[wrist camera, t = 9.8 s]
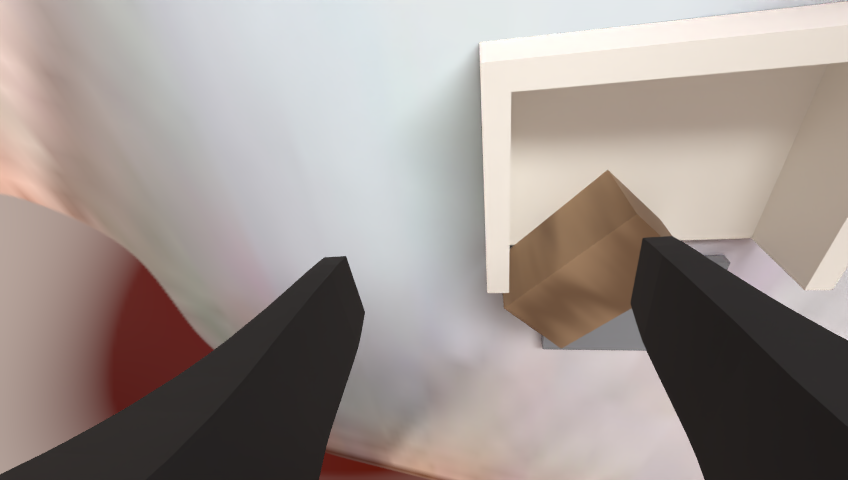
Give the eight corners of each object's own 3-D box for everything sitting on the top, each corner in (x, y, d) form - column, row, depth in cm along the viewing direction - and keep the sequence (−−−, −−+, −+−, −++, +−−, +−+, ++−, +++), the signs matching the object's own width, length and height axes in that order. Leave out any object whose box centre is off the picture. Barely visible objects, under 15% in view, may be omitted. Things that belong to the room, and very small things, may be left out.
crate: (873, -2, 14) (1013, 7, 10) (766, 230, 19) (832, 289, 16) (479, 42, 16) (479, 62, 12) (485, 239, 22) (487, 293, 18)
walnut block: (697, 270, 16) (561, 348, 19) (659, 218, 19) (549, 294, 23) (636, 213, 15) (503, 308, 18) (607, 169, 18) (499, 256, 21)
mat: (724, 255, 20) (730, 262, 20) (688, 343, 24) (692, 351, 24) (548, 259, 22) (550, 266, 21) (541, 341, 26) (542, 349, 25)
